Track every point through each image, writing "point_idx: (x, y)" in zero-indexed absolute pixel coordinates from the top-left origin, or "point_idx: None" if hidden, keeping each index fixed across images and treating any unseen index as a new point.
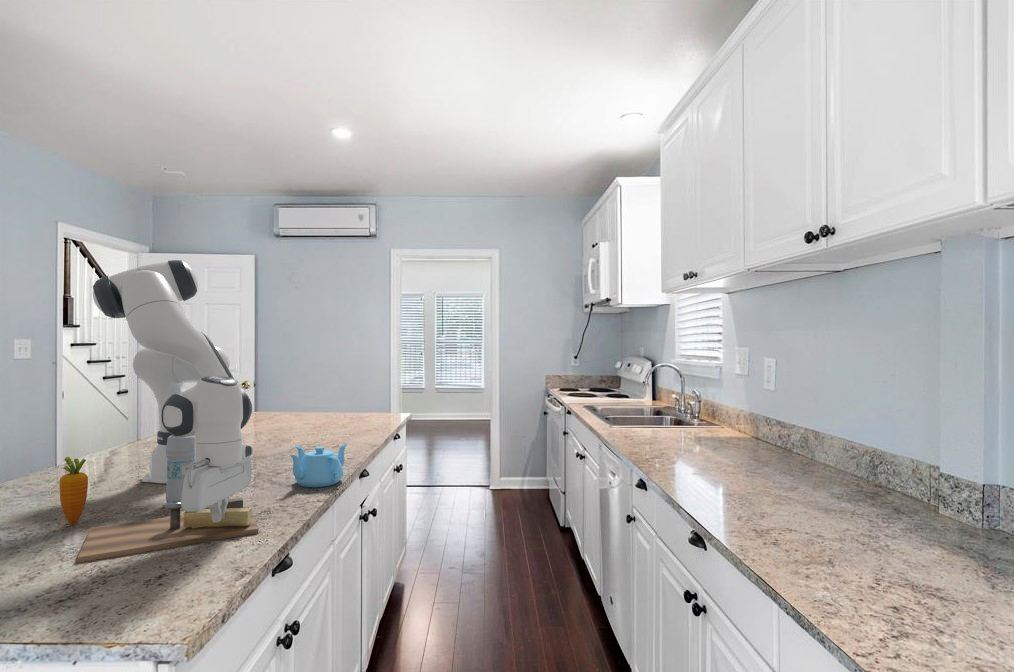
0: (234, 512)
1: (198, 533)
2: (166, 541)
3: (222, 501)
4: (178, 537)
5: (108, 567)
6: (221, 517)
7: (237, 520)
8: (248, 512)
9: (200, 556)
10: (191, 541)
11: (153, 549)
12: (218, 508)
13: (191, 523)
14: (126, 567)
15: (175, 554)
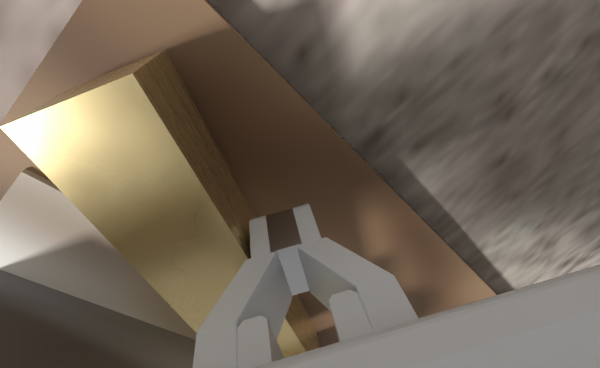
0: (207, 192)
1: (340, 238)
2: (437, 267)
3: (276, 345)
4: (396, 265)
5: (577, 252)
6: (296, 219)
7: (201, 137)
8: (114, 79)
9: (547, 33)
10: (405, 202)
11: (463, 260)
12: (372, 266)
13: (308, 320)
14: (592, 212)
15: (504, 164)
